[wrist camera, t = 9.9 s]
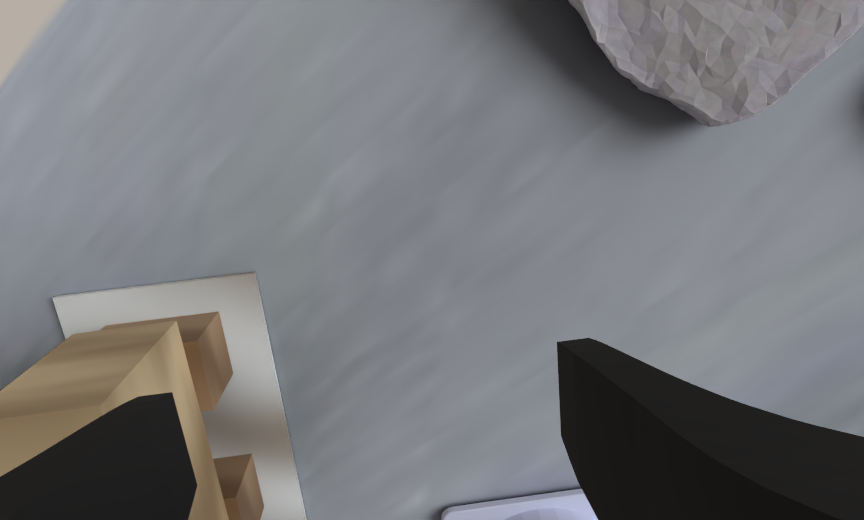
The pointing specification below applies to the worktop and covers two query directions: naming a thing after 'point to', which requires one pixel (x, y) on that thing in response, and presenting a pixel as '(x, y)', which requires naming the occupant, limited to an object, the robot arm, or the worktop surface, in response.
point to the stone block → (719, 48)
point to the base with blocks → (216, 379)
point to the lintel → (107, 398)
